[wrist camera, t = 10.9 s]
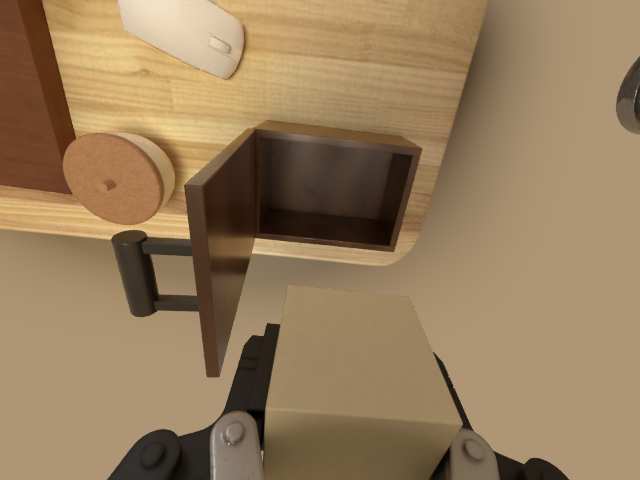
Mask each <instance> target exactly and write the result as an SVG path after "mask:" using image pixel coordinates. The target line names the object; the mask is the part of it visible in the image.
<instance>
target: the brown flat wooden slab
mask: <svg viewBox="0 0 640 480" xmlns="http://www.w3.org/2000/svg"><path fill="white" fill-rule="evenodd" d="M74 140H76V139H75V135H74V131H73V127H72V123H71V118H70V114H69V110H68V106H67V102H66V98H65V94H64V90H63V86H62V82H61V78H60V74H59V70H58V66H57V62H56V58H55V54H54V50H53V46H52V42H51V38H50V34H49V30H48V26H47V22H46V18H45V14H44V10H43V6H42V2H41V0H0V185H4V186H11V187H19V188H26V189H34V190H41V191H49V192H56V193H64V194H71V195H72V194H73V193H72V192H71V190H70V188H69V186H68V184H67V182H66V180H65V176H64V171H63V159H64V155H65V151H66V150H67V148H68V146H69V145H70V144H71V143H72V142H73V141H74Z"/></svg>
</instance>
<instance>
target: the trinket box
mask: <svg viewBox="0 0 640 480" xmlns="http://www.w3.org/2000/svg"><path fill="white" fill-rule="evenodd" d="M63 171H64V176H65V180H66V182H67V184H68V186H69V188H70V190H71V192H72V193H73V195H74V196H75V197H76V198H77V200H78V201H79V202H80V203H81V204H82V205H83V206H84V207H85V208H87V209H88V210H89V211H90V212H92V213H93V214H95V215H96V216H98V217H100V218H102V219H104V220H107V221H109V222H112V223H116V224H122V225H134V224H139V223H142V222H144V221H146V220H148V219H150V218H151V217H152V216H153V215H155V214H156V213H157V211H158V210H160V209H161V208H162V207H163V206H164V205H165V204H166V203H167V201H168V200H169V199H170V197H171V195H172V193H173V190H174V187H175V172H174V168H173V166H172V163H171V162H170V160H169V158H168V157H167V155H166V154H165V153H164V151H163V150H162V149H161V148H160V147H158V146H157V145H156V144H155V143H153V142H152V141H150V140H148V139H146V138H144V137H142V136H139V135H136V134H131V133H125V132H106V133H93V134H87V135H84V136H81V137H79V138H77V139H76V140H74V141H73V142H72V143H71V144H70V145H69V146H68V148H67V150H66V151H65V155H64V159H63Z"/></svg>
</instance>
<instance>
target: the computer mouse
mask: <svg viewBox="0 0 640 480" xmlns="http://www.w3.org/2000/svg"><path fill="white" fill-rule="evenodd" d="M118 4H119V11H120V14H121V18H122V23H123V27H124V29H125V31H127V32H129V33H131V34H132V35H134V36H136V37H138V38H140V39H141V40H143V41H144V42H146V43H148V44H150V45H152V46H153V47H155V48H157V49H159V50H161V51H163V52H165V53H167V54H169V55H170V56H172V57H174V58H176V59H178V60H180V61H182V62H184V63H186V64H188V65H190V66H192V67H194V68H196V69H198V70H203V71H205V72H207V73H210V74H212V75H214V76H217V77H220V78H222V79H225V80H226V79H228V78H229V77H230V76H231V75H232V73H233V72H234V71H235V70H236V68H237V66H238V63H239V61H240V58H241V55H242V50H243V45H244V28H243V23H242V22H241V21H239V20H238V19H236V18H235V17H234V16H232V15H231V14H229V13H228V12H226V11H225V10H223V9H221V8H220V7H218V6H217V5H216V3H215V2H213V1H211V0H118Z"/></svg>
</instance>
